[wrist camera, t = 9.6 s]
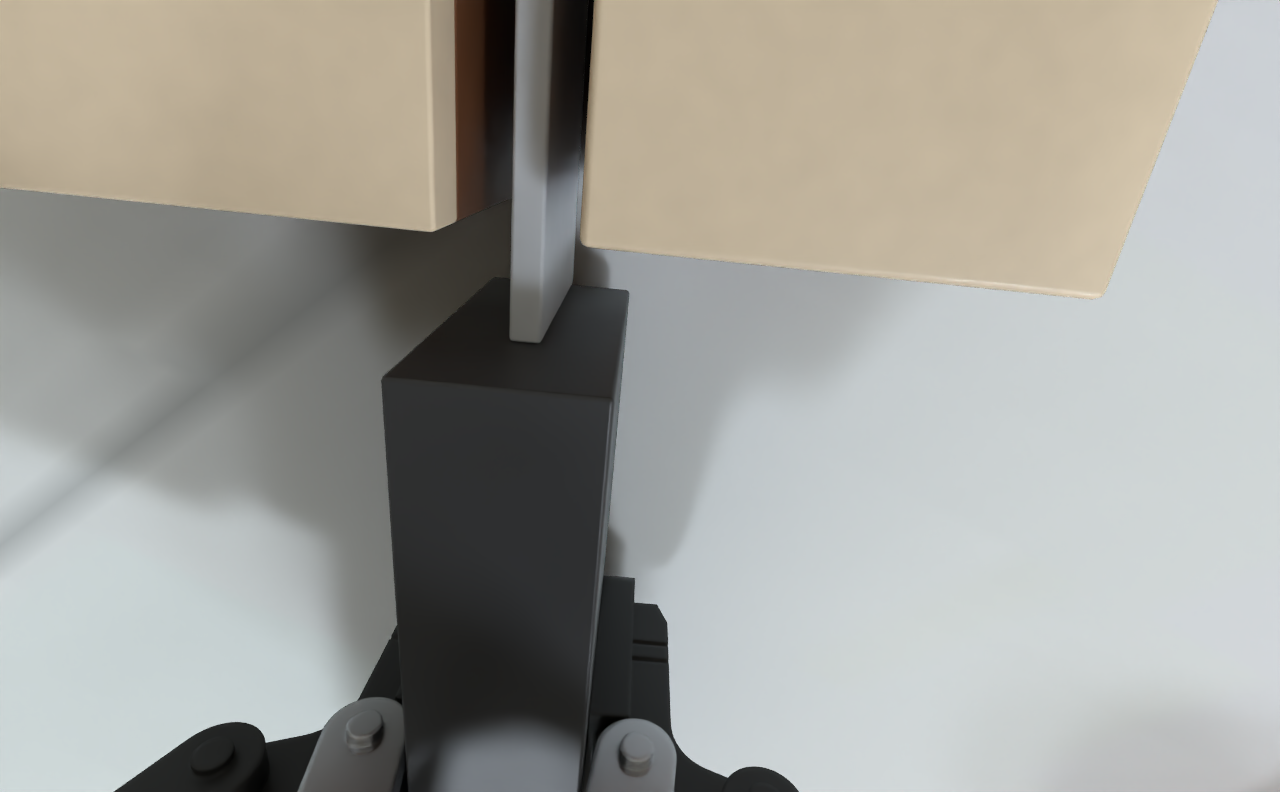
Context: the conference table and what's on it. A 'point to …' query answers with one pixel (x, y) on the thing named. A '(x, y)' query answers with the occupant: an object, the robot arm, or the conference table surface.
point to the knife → (510, 470)
